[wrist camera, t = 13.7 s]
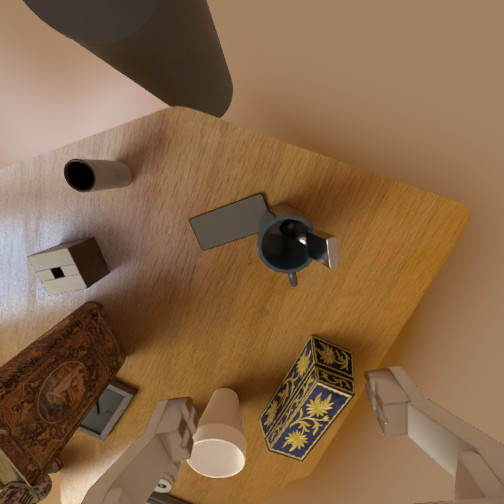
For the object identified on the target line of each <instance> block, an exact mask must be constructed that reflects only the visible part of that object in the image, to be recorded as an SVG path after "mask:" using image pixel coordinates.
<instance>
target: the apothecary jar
mask: <svg viewBox="0 0 504 504" xmlns="http://www.w3.org/2000/svg"><path fill="white" fill-rule="evenodd" d="M61 467H62V464H61V462H60V460H59V459H58V458H56V459H55V460H54V462H53V463H52V465H51V466H50V467H49V469H48V470H47V472H46V473H45V474H44V476H43V477H42V479H41V480H40V481H39V483H38V484H37V485H36V486H34V487H29V486H28V485H27V484H22V483H10V484H9V485H8V486H7V487H6V488H5V489H3V490H2V491H1V492H0V504H37V503H38V502H40V501H42V500H43V499H45V498H46V496H48V494H49V493H50V491H51V488H52V481H51V478H50V476H49V475H48V474H49V473H56V472H58V471H59V470H60V469H61Z"/></svg>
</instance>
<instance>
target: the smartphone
mask: <svg viewBox="0 0 504 504" xmlns="http://www.w3.org/2000/svg"><path fill="white" fill-rule="evenodd" d="M267 210H268V208H267V205H266V203H265V200H264V197H263V195H262V194H261V193H258V194H256V195H253V196H250V197H248V198H245V199H242V200H240V201H237V202H234V203H231V204H229V205H226V206H223V207H221V208H218V209H215V210H213V211H210V212H207V213H204V214H202V215H199V216H196V217H194V218H191V219H190V220H189V222H190V224H191V227H192V229H193V231H194V233H195V235H196V238H197V240H198V242H199V244H200V246H201V249H202V250H208V249H211V248H214V247H217V246H219V245H222V244H225V243H228V242H231V241H234V240H237V239H240V238H244V237H246V236H249V235H252V234H255V233H258V226H259V220H260V219H261V217H262V216H263V214H264V213H265V212H266V211H267Z"/></svg>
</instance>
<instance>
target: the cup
mask: <svg viewBox="0 0 504 504" xmlns="http://www.w3.org/2000/svg"><path fill="white" fill-rule="evenodd" d="M192 438H193V440H194V445H193V449H192V453H191V457H190V459H187V462H188V464H189V465H190V466H191V468H192V469H194V470H195V471H196V472H198V473H200V474H202V475H205V476H208V477H214V478H225V477H229V476H233V475H235V474H237V473H238V472H239V471H241V470H242V469H243V467H244V465H245V461H246V457H245V456H246V447H247V443H246V439H245V437H244V432H243V426H242V419H241V412H240V406H239V399H238V395H237V393H236V392H235V391H233V390H231V389H228V388H220V389H217V390H216V391H215V392H214V393H213V395H212V397H211V399H210V401H209V403H208V405H207V407H206V409H205V411H204V413H203V415H202V417H201V419H200V421H199V423H198V428H197V432H196V433H195V434H194V435H193V437H192Z"/></svg>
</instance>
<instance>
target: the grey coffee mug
mask: <svg viewBox="0 0 504 504" xmlns="http://www.w3.org/2000/svg"><path fill="white" fill-rule="evenodd" d="M281 226H285V227H288V228H290V229H293V230H295V231H297V232H300V233H302V234H304V235H306V234H305V231H306V230H310V229H313V228H314V227H313V226H312V224H311V223H310V222H309V221H308V220H307V219H306V217H305V216H304V215H303V214H302V213H301V212H300V211H299V210H297V209H296V208H294V207H293V206H290V205H284V204H282V205H276V206H273V207H271V208H269V209H268V210H267V211H266V212H265V213H264V214H263V216H262V217H261V219H260V220H259V226H258V237H257V248H258V252H259V256H260V258H261V259H262V261H263V262H264V263H265V265H266V266H268V267H269V268H271V269H272V270H274V271H276V272H281V273H288V276H289V280H290V284H291V286H293V287H296V286H297V284H298V282H297V276H296V272H298V271H300V270H302V269H303V268H305V267H307V266H308V265H309V264H310V263H311V262H312V260H313V258H311V257H309V254H308V247H307V246H306V245H304V244H302V243H300V242H298V241H296V240H294V239H292V238H290V237H288V236H286V235H284V234H282V233H281V232H280V230H279V229H280V227H281Z"/></svg>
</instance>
